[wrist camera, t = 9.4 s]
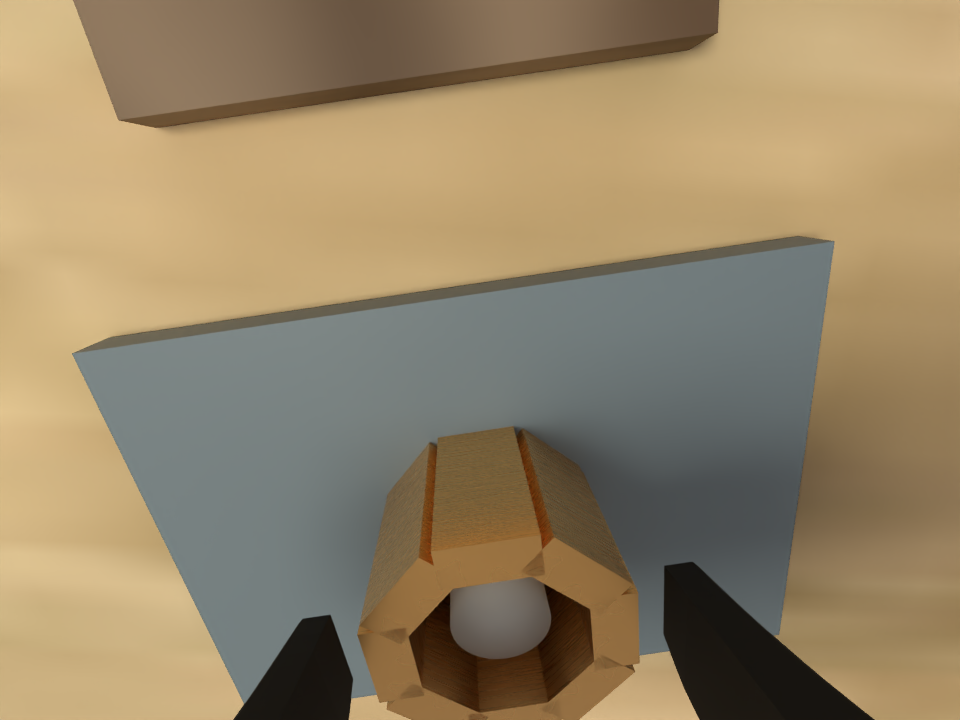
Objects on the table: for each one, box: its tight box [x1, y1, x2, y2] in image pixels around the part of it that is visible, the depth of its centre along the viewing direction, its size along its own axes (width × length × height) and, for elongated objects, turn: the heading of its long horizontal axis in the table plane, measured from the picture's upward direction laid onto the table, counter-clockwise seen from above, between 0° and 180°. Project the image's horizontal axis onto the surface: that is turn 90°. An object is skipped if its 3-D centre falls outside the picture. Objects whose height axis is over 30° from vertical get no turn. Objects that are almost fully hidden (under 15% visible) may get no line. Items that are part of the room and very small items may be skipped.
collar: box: [357, 426, 639, 720], centre depth 11 cm, size 6×6×4 cm
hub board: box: [72, 236, 834, 704], centre depth 12 cm, size 18×13×4 cm
